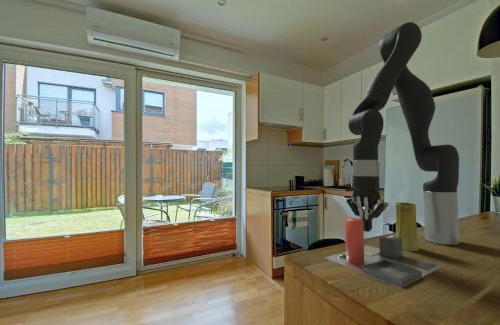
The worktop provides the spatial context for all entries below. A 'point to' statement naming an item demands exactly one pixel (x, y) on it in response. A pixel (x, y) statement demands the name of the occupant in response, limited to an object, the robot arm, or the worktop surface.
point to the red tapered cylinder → (354, 240)
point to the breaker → (390, 246)
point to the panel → (388, 267)
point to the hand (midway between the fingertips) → (366, 231)
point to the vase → (407, 226)
